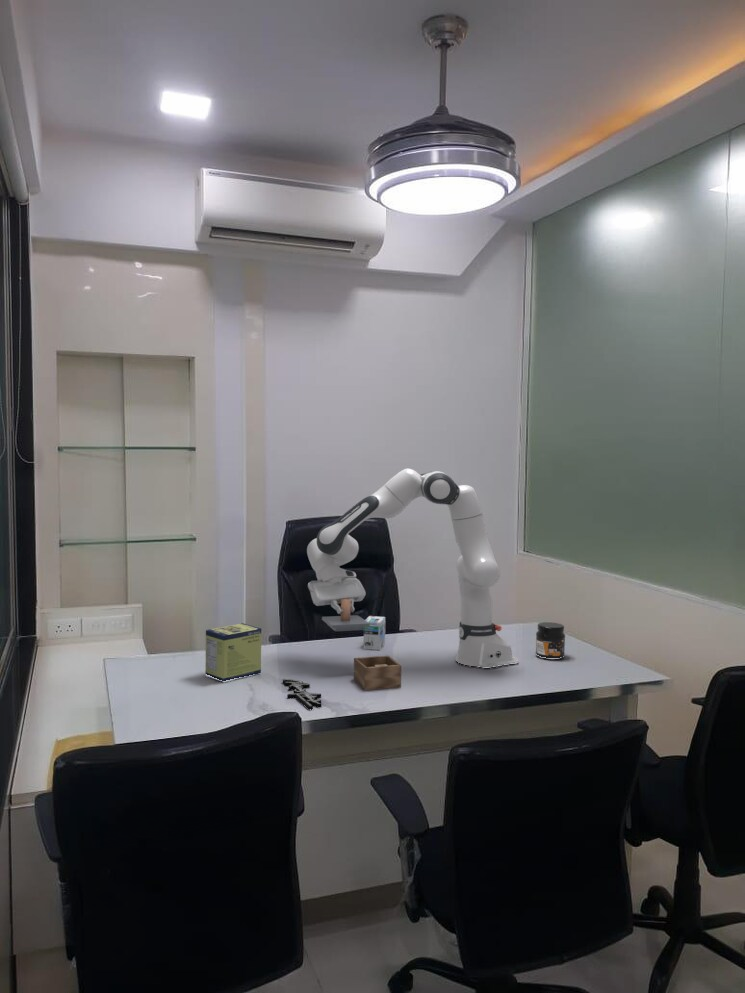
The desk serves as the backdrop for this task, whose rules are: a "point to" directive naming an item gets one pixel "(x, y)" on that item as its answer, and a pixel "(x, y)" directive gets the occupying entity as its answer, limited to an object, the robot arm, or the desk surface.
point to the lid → (346, 619)
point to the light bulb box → (374, 633)
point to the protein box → (233, 651)
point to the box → (377, 672)
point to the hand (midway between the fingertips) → (346, 612)
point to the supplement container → (550, 640)
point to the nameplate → (302, 693)
